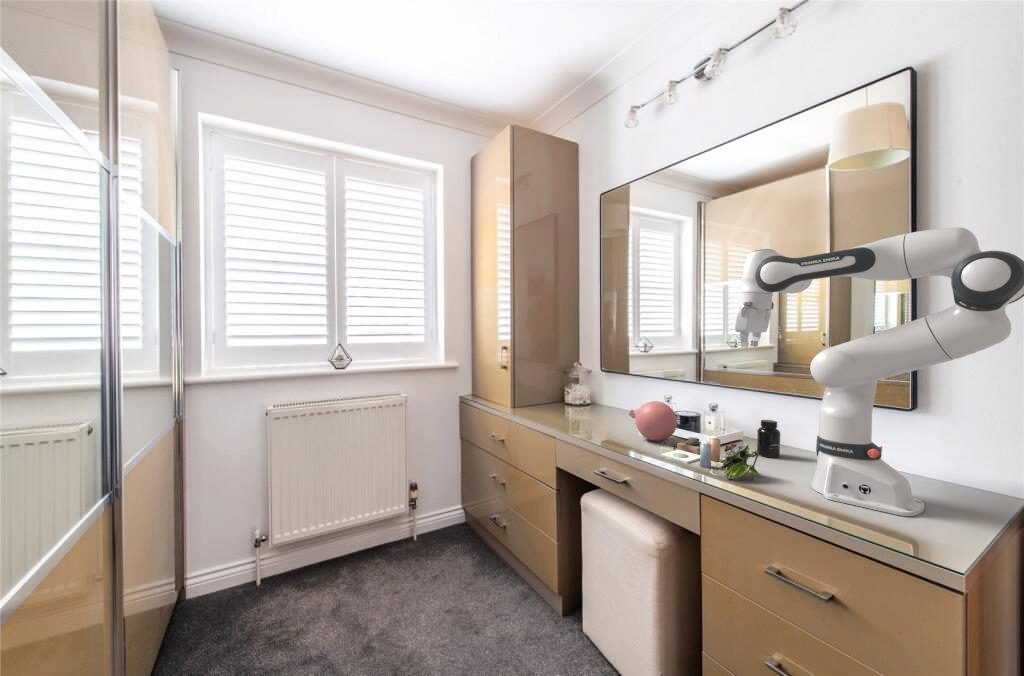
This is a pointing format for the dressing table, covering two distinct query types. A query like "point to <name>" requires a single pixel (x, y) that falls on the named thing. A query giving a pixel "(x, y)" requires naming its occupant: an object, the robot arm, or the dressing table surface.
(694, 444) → the button
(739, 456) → the passion flower
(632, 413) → the pink balloon
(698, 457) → the sketch pad
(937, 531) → the dressing table surface
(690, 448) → the button block
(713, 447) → the cylinder
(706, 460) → the cylinder
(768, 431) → the supplement bottle
